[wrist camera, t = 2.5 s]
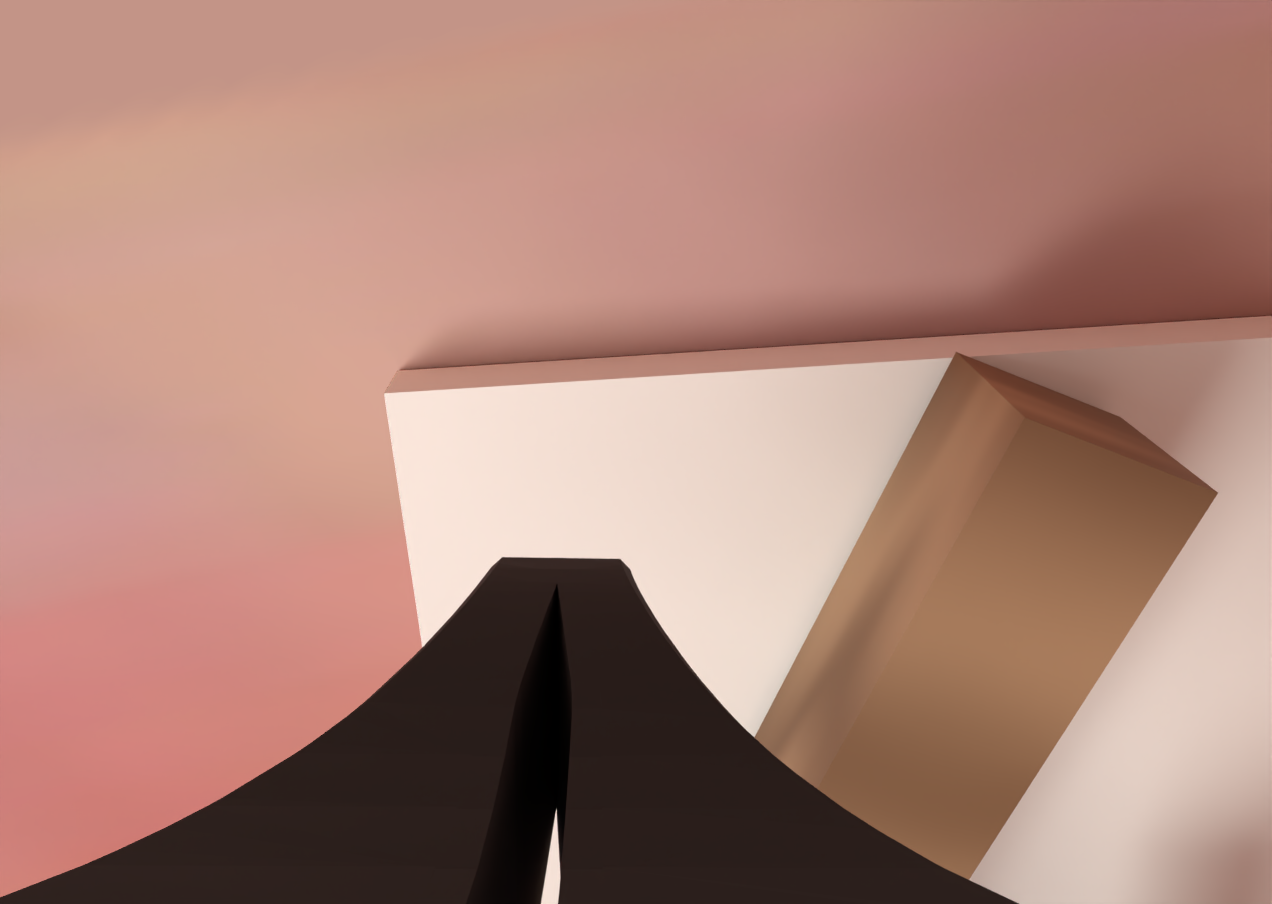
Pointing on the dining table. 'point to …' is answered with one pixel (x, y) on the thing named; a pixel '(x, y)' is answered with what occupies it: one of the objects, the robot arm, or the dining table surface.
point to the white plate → (830, 526)
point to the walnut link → (979, 609)
